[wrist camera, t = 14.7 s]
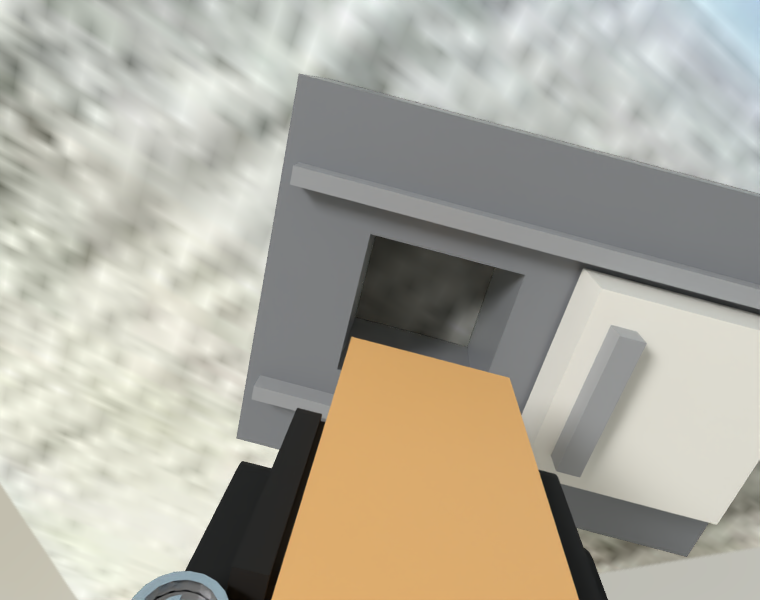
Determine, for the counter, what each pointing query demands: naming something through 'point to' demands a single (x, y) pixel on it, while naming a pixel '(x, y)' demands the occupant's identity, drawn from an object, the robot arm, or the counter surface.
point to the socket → (475, 253)
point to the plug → (423, 491)
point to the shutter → (649, 397)
